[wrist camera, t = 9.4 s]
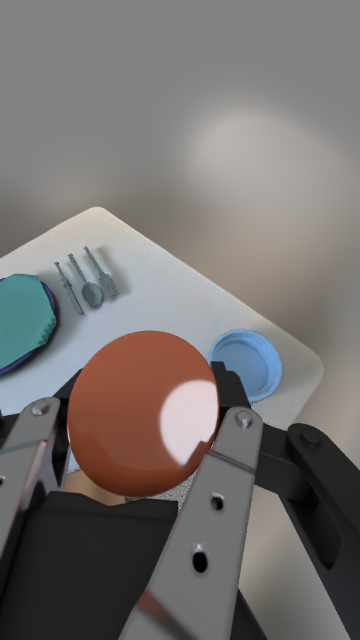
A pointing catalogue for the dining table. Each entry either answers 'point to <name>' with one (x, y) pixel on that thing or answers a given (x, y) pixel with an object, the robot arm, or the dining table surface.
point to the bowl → (249, 361)
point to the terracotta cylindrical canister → (143, 414)
